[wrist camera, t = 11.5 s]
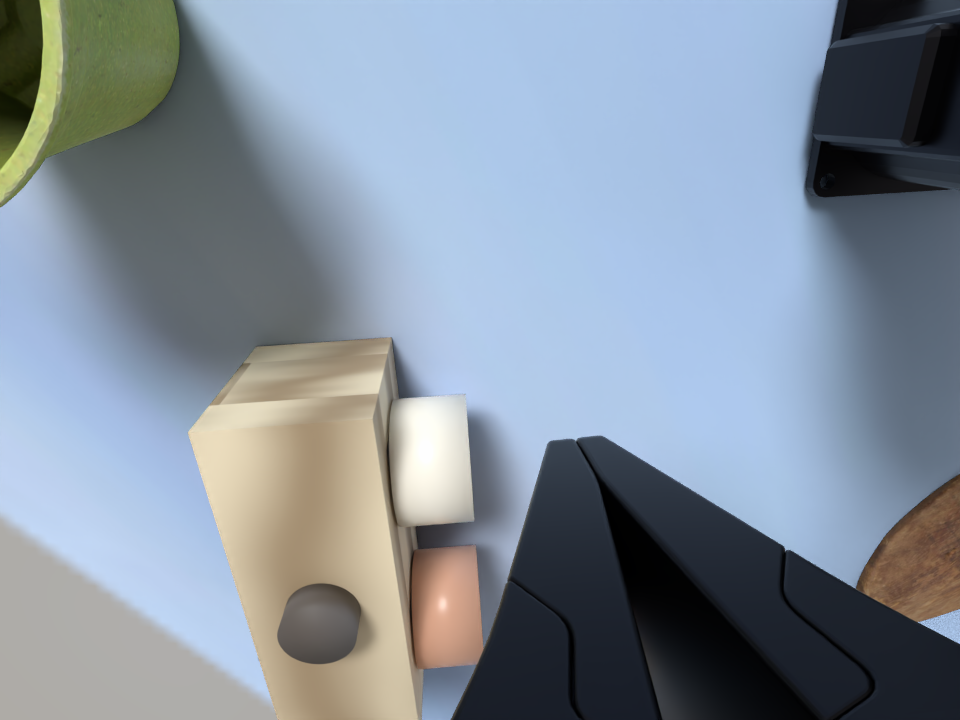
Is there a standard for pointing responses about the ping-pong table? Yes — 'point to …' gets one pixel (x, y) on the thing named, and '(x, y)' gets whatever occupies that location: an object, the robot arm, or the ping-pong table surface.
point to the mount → (316, 527)
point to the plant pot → (77, 75)
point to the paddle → (920, 559)
